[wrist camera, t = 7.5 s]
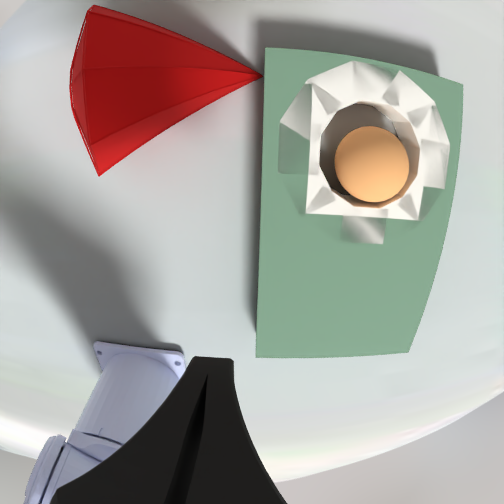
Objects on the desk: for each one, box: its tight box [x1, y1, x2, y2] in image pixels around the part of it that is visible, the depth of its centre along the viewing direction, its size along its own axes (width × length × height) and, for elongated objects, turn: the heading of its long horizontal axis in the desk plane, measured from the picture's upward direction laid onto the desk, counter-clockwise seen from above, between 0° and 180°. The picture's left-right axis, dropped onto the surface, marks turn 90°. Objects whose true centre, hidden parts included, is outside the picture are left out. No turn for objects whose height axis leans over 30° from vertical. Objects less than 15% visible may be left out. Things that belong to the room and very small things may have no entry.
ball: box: [335, 126, 409, 202], centre depth 15 cm, size 4×4×4 cm
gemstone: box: [69, 5, 263, 176], centre depth 13 cm, size 9×9×10 cm
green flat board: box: [256, 48, 463, 358], centre depth 17 cm, size 18×11×2 cm, turn 179°
